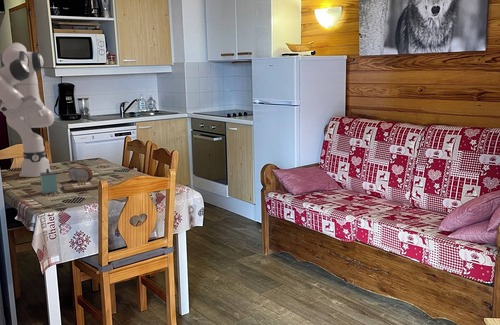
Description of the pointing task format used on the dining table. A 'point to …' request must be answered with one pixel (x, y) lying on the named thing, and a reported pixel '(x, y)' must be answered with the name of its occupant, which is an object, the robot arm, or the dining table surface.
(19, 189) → the dining table surface
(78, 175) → the tin
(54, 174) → the housing
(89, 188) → the pin board
